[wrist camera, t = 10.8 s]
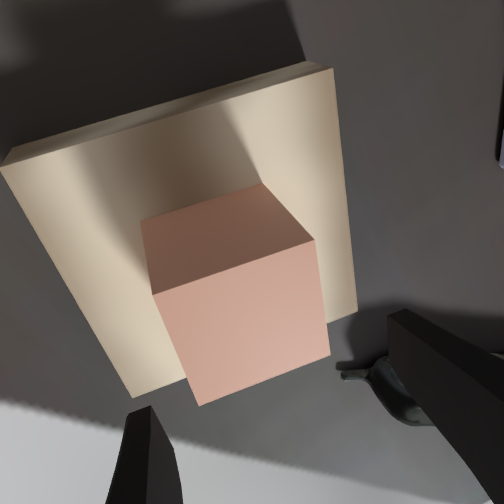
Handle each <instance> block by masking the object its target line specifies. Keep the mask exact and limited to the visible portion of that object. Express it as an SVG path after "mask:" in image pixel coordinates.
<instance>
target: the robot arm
mask: <svg viewBox="0 0 504 504" xmlns="http://www.w3.org/2000/svg"><path fill="white" fill-rule="evenodd" d="M500 166H501V168H504V131H503V139H502V147H501V155H500ZM387 319H388V349H389V363H390V365H391V367H392V368H393V370H394V371H395V373H396V375H397V376H398V378H399V379H400V381H401V382H402V384H403V385H404V387H405V389H406V390H407V392H408V393H409V394H410V395H411V397H412V398H413V399H414V400H415V402H416V403H417V404H418V405H419V407H420V408H421V409H422V410H423V412H424V413H425V414H426V415H427V416H428V418H429V419H430V420H431V421H432V422H433V424H434V425H435V426H436V427H437V429H438V430H439V431H440V432H441V433H442V435H443V436H444V437H445V438H446V439H447V441H448V442H449V443H450V444H451V446H452V447H453V448H454V449H455V450H456V452H457V453H458V454H459V455H460V457H461V458H462V459H463V460H464V462H465V463H466V464H467V466H468V467H469V468H470V470H471V471H472V472H473V474H474V475H475V477H476V478H477V480H478V481H479V483H480V484H481V486H482V487H483V488H484V490H485V491H486V493H487V494H488V496H489V497H490V499H491V500H492V502H493V503H494V504H504V360H503V359H501V358H499V357H497V356H495V355H492V354H490V353H488V352H486V351H484V350H482V349H480V348H478V347H476V346H475V345H473V344H471V343H469V342H467V341H465V340H463V339H461V338H459V337H457V336H455V335H453V334H451V333H450V332H448V331H446V330H444V329H442V328H440V327H439V326H437V325H435V324H433V323H431V322H430V321H428V320H426V319H424V318H422V317H421V316H419V315H417V314H415V313H413V312H411V311H410V310H408V309H403V310H400V311H398V312H395V313H392V314H390V315H387ZM105 504H183V498H182V489H181V482H180V478H179V472H178V467H177V462H176V458H175V453H174V448H173V446H172V444H171V443H170V441H169V439H168V437H167V435H166V433H165V431H164V429H163V427H162V425H161V424H160V422H159V420H158V418H157V416H156V414H155V412H154V410H153V408H152V406H151V405H150V406H148V407H145V408H142V409H140V410H137V411H134V412H132V413H129V414H128V416H127V418H126V423H125V428H124V433H123V438H122V443H121V447H120V451H119V455H118V459H117V463H116V467H115V471H114V475H113V478H112V482H111V485H110V489H109V492H108V496H107V500H106V503H105Z"/></svg>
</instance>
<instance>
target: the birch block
mask: <svg viewBox="0 0 504 504" xmlns="http://www.w3.org/2000/svg"><path fill="white" fill-rule="evenodd" d="M0 171H1V173H2V175H3V176H4V178H5V180H6V182H7V183H8V185H9V187H10V188H11V190H12V192H13V194H14V195H15V197H16V199H17V200H18V202H19V204H20V206H21V207H22V209H23V211H24V212H25V214H26V216H27V218H28V219H29V221H30V223H31V225H32V226H33V228H34V230H35V231H36V233H37V235H38V237H39V238H40V240H41V242H42V243H43V245H44V247H45V249H46V250H47V252H48V254H49V255H50V257H51V259H52V261H53V262H54V264H55V266H56V267H57V269H58V271H59V273H60V274H61V276H62V278H63V280H64V281H65V283H66V285H67V286H68V288H69V290H70V292H71V293H72V295H73V297H74V298H75V300H76V302H77V304H78V305H79V307H80V309H81V310H82V312H83V314H84V316H85V317H86V319H87V321H88V323H89V324H90V326H91V328H92V329H93V331H94V333H95V335H96V336H97V338H98V340H99V341H100V343H101V345H102V347H103V348H104V350H105V352H106V353H107V355H108V357H109V359H110V360H111V362H112V364H113V365H114V367H115V369H116V371H117V372H118V374H119V376H120V378H121V379H122V381H123V383H124V384H125V386H126V388H127V390H128V391H129V393H130V395H131V396H132V398H134V397H137V396H140V395H142V394H145V393H147V392H150V391H153V390H155V389H158V388H160V387H163V386H166V385H168V384H171V383H173V382H176V381H179V380H181V379H184V378H186V374H185V372H184V370H183V367H182V365H181V363H180V360H179V358H178V355H177V353H176V351H175V348H174V346H173V343H172V341H171V339H170V336H169V334H168V332H167V329H166V327H165V324H164V322H163V320H162V317H161V315H160V313H159V310H158V308H157V305H156V303H155V301H154V298H153V296H152V291H151V285H150V279H149V273H148V267H147V261H146V255H145V249H144V243H143V237H142V231H141V225H140V221H143V220H146V219H149V218H153V217H156V216H159V215H162V214H165V213H169V212H172V211H175V210H178V209H181V208H184V207H188V206H191V205H194V204H197V203H200V202H203V201H207V200H210V199H213V198H216V197H219V196H223V195H226V194H229V193H232V192H235V191H238V190H242V189H245V188H248V187H251V186H254V185H258V184H261V183H263V184H264V185H265V186H266V187H267V188H268V189H269V190H270V191H271V192H272V194H273V195H274V196H275V197H276V198H277V199H278V200H279V201H280V202H281V203H282V204H283V206H284V207H285V208H286V209H287V210H288V211H289V212H290V213H291V214H292V215H293V216H294V218H295V219H296V220H297V221H298V222H299V223H300V224H301V225H302V226H303V227H304V228H305V230H306V231H307V232H308V233H309V234H310V235H311V236H312V237H313V238H314V239H315V245H316V252H317V260H318V267H319V274H320V282H321V289H322V296H323V303H324V311H325V318H326V323H329V322H331V321H334V320H337V319H339V318H342V317H344V316H347V315H350V314H352V313H355V312H357V311H358V307H357V298H356V288H355V278H354V268H353V259H352V249H351V239H350V229H349V219H348V210H347V200H346V190H345V180H344V170H343V161H342V151H341V141H340V131H339V121H338V112H337V102H336V92H335V82H334V73H333V68H332V67H328V66H324V65H320V64H316V63H313V62H309V61H304V62H301V63H298V64H294V65H291V66H287V67H284V68H281V69H277V70H274V71H270V72H267V73H264V74H260V75H257V76H253V77H250V78H247V79H243V80H240V81H236V82H233V83H230V84H226V85H223V86H219V87H216V88H213V89H209V90H206V91H202V92H199V93H196V94H192V95H189V96H186V97H182V98H179V99H175V100H172V101H169V102H165V103H162V104H158V105H155V106H152V107H148V108H145V109H141V110H138V111H135V112H131V113H128V114H124V115H121V116H118V117H114V118H111V119H107V120H104V121H101V122H97V123H94V124H90V125H87V126H84V127H80V128H77V129H74V130H70V131H67V132H63V133H60V134H57V135H53V136H50V137H46V138H43V139H40V140H36V141H33V142H29V143H26V144H23V145H19V146H16V147H13V148H12V149H11V151H10V152H9V153H8V155H7V156H6V158H5V159H4V161H3V162H2V164H1V165H0Z"/></svg>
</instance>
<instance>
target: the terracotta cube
mask: <svg viewBox="0 0 504 504" xmlns="http://www.w3.org/2000/svg"><path fill="white" fill-rule="evenodd" d="M140 225H141V231H142V237H143V243H144V249H145V255H146V261H147V267H148V273H149V279H150V285H151V291H152V296H153V298H154V301H155V303H156V305H157V308H158V310H159V313H160V315H161V317H162V320H163V322H164V324H165V327H166V329H167V332H168V334H169V336H170V339H171V341H172V343H173V346H174V348H175V351H176V353H177V355H178V358H179V360H180V363H181V365H182V367H183V370H184V372H185V374H186V377H187V379H188V382H189V384H190V386H191V389H192V391H193V393H194V396H195V398H196V401H197V403H198V405H199V406H200V405H203V404H205V403H208V402H211V401H213V400H216V399H218V398H221V397H224V396H226V395H229V394H231V393H234V392H236V391H239V390H242V389H244V388H247V387H249V386H252V385H254V384H257V383H260V382H262V381H265V380H267V379H270V378H272V377H275V376H278V375H280V374H283V373H285V372H288V371H290V370H293V369H296V368H298V367H301V366H303V365H306V364H309V363H311V362H314V361H316V360H319V359H321V358H324V357H327V356H329V355H330V347H329V340H328V333H327V325H326V318H325V311H324V303H323V296H322V289H321V282H320V274H319V267H318V260H317V252H316V245H315V239H314V238H313V237H312V236H311V235H310V234H309V233H308V232H307V231H306V230H305V228H304V227H303V226H302V225H301V224H300V223H299V222H298V221H297V220H296V219H295V218H294V216H293V215H292V214H291V213H290V212H289V211H288V210H287V209H286V208H285V207H284V206H283V204H282V203H281V202H280V201H279V200H278V199H277V198H276V197H275V196H274V195H273V194H272V192H271V191H270V190H269V189H268V188H267V187H266V186H265V185H264V184H263V183H261V184H258V185H254V186H251V187H248V188H245V189H242V190H238V191H235V192H232V193H229V194H226V195H223V196H219V197H216V198H213V199H210V200H207V201H203V202H200V203H197V204H194V205H191V206H188V207H184V208H181V209H178V210H175V211H172V212H169V213H165V214H162V215H159V216H156V217H153V218H149V219H146V220H143V221H140Z"/></svg>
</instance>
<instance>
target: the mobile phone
mask: <svg viewBox="0 0 504 504" xmlns="http://www.w3.org/2000/svg"><path fill="white" fill-rule="evenodd" d="M490 354H492V355H495V356H497V357H499V358H501V359H503V360H504V353H490ZM341 379H342V380H343V381H353V380H362V381H365V382H367V383H368V384H369V385H370V386H371V388H372V390H373V391H374V393H375V395H376V396H377V398H378V399H379V401H380V402H381V403H382V405H383V406H384V407H385V409H386V410H387V411H388V412H389V413H390V414H391V415H392V416H393V417H394V418H396V419H397V420H398V421H400V422H402V423H404V424H406V425H409V426H435V425H434V424H433V422H432V421H431V420H430V419H429V418H428V416H427V415H426V414H425V413H424V412H423V410H422V409H421V408H420V407H419V405H418V404H417V403H416V402H415V400H414V399H413V398H412V397H411V395H410V394H409V393H408V392H407V390H406V389H405V387H404V385H403V384H402V382H401V381H400V379H399V378H398V376H397V375H396V373H395V371H394V370H393V368H392V367H391V365H390V363H389V355H388V356H384V357H381V358H379V359H378V360H377V361H376V362H375V364H374V365H373V366H372V367H371V368H370V369H359V370H345V371H342V372H341Z"/></svg>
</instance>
